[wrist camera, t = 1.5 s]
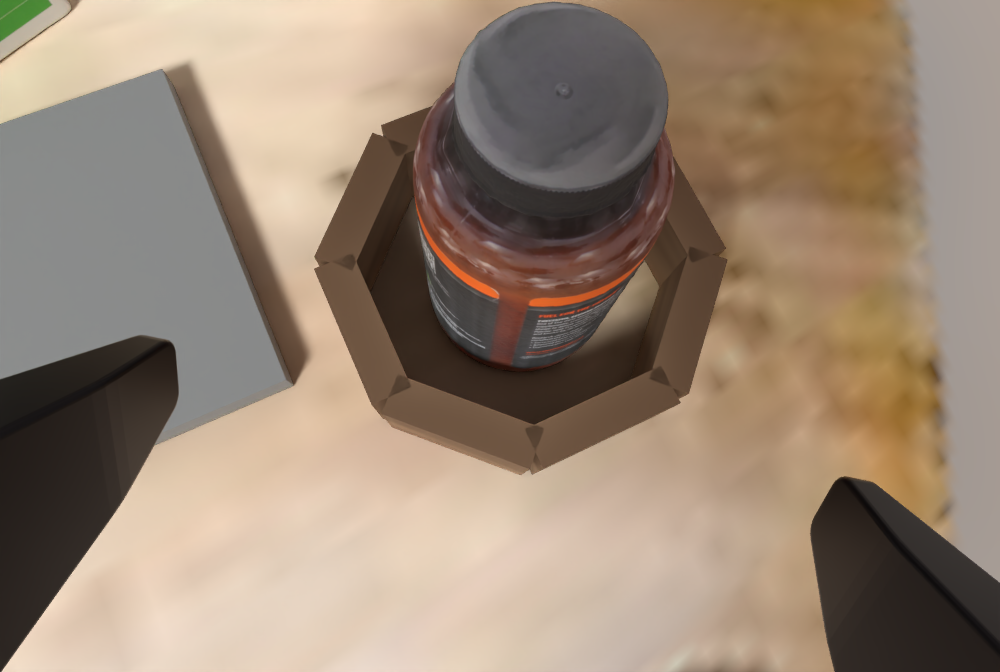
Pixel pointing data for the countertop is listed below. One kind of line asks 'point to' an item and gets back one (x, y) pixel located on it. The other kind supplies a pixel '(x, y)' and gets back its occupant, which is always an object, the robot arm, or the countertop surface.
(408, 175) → the collar ring
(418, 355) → the countertop surface
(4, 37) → the skincare box
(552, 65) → the supplement bottle
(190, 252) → the pad
